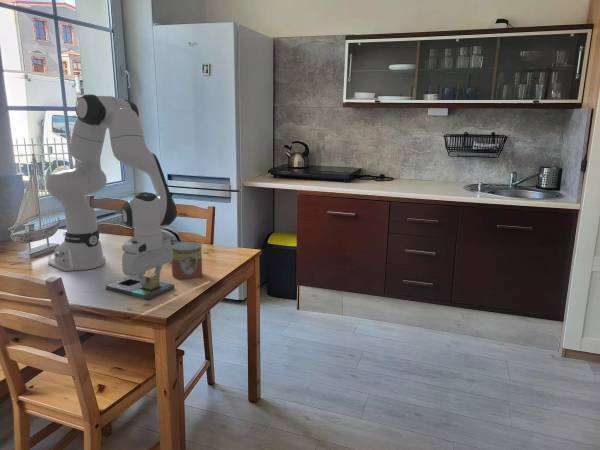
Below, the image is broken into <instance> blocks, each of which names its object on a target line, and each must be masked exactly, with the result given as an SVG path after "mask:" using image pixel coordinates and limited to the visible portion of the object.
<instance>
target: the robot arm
mask: <svg viewBox="0 0 600 450" xmlns="http://www.w3.org/2000/svg"><path fill="white" fill-rule="evenodd" d="M77 98H78V99H77V100H76V103H75V108H74V111H75V114H76V119H75V122H74V125H73V129H72V134H71V138H70V144H69V147H68V152H69V154H70V156H71V158H73V159H74V167H73V168H72V169H71V168H70V169H64V170H58V171H57V172H54V173H52V174H51V175H49V176H48V177H47V179H46V190H47V192H48V194H49V195H50V196H51V197H52V198H54V199H55V200H56V201H57V202H59V205H60V206H61V208H62V210H63V213H64V219H65V226H66V231H65V232H62V234H63V235H62V236H64V240H63V242H61V243H60V244H59V245H58V246H56V248H55V249H54V258H52V259H50V260H48V261H47V263H48V265H50V266H52V267H55V268H57V269H59V270H61V271H64V272H71V271H86V270H93V269H95V268H99V267H101V266H103V265H104V264H105V263H106V262H105V261H106V257H105V256H104V252H103V248H102V242H101V240H99V239H100V230H99V229H98V220H97V212H96V209H94V208H93V207H92V206H89V204H88V202H87V199H86V196H89V195H94V194H97V193H99V192H101V191H102V190H103V189H105V188H106V186H107V182H108V181H107V176H106V174H105V172H104V171H103V170H102V165H101V155H102V150H103V146H104V143H105V138H106V132H107V130H108V131H109V137H110V138H109V140H110V145H111V150H112V154H113V156H114V158H115V159H116V160H117V161H118V162H119V163H121V164H122V165H124V166H127V167H131V168H134V169H137V170H140V171H141V172H144V173H146V174H147V175H148V176H149V178H150V181H151V183H152V187H153V190H154V192H155V193H152V192H147V191H145V192H144V191H143V192H138V193H136V194H134V195H133V197H132V199H130V200H128V201H126V202H125V203H123V205H122V206H121V209H120V211H121V221H122V224H124V225H125V226H127V227H129V228H133V229H134V231H133V237H131V238H130V239H129V240H128V241H126V242H125V243H123V244H122V246H121V250H122V252H123V255H122V256H121V257H122V260H121V261H122V262H121V263H122V264H121V265H122V273H123V274H124V275H125V276H127V277H129V276H137V277H139V278H140V279H141V284H145V283H147V282H148V281H147V280H148V278H145V276H144V275H145V274H146V272H147V271H149V270H153V269H154V273H156V274H159V279H160V277H161V272H162V269H163V265H165V264H168V263H172V262H171V261H172V260H173V249H172V245H171V240H170V238H169V237H167V236H165V237H162V232H161V228H162V227H161V226H170V225H172V223H174V221H175V220H176V219H177V215H178V210H177V206H176V204H175V201H174V199H173V196H172V194H171V191H170V189H169V185H168V183H167V180H166V178H165V174H164V171H163V169H162V166H161V163H160V161H159V159H158V157H157V155H156V154H155V153H153V152H151V151H150V149H149V148H148V147H147V144H146V141H145V138H144V133H143V129H142V128H143V127H142V124H141V121H140V118H139V117H140V114H139V109H138V106H137V104H135V103H134V102H132V101H131V100H129V99H122V98H119V97H115V96H111V95H108V96H107V95H99V94H94V93H84V94H82V95H80V96H79V97H77Z"/></svg>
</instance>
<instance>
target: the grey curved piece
mask: <svg viewBox="0 0 600 450" xmlns="http://www.w3.org/2000/svg"><path fill="white" fill-rule="evenodd" d="M160 228H161V232H162V237H165V236H167V237H169V238H170V240H171V239H172V238H173V237H174V238H175V239H176V240H177V241H178V242H179V241H181V240H183V238H182V236H181V233H180V232H178V231H177V230H175V229H173V228H171V227H167V226H164V227H163V226H162V227H160Z"/></svg>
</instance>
